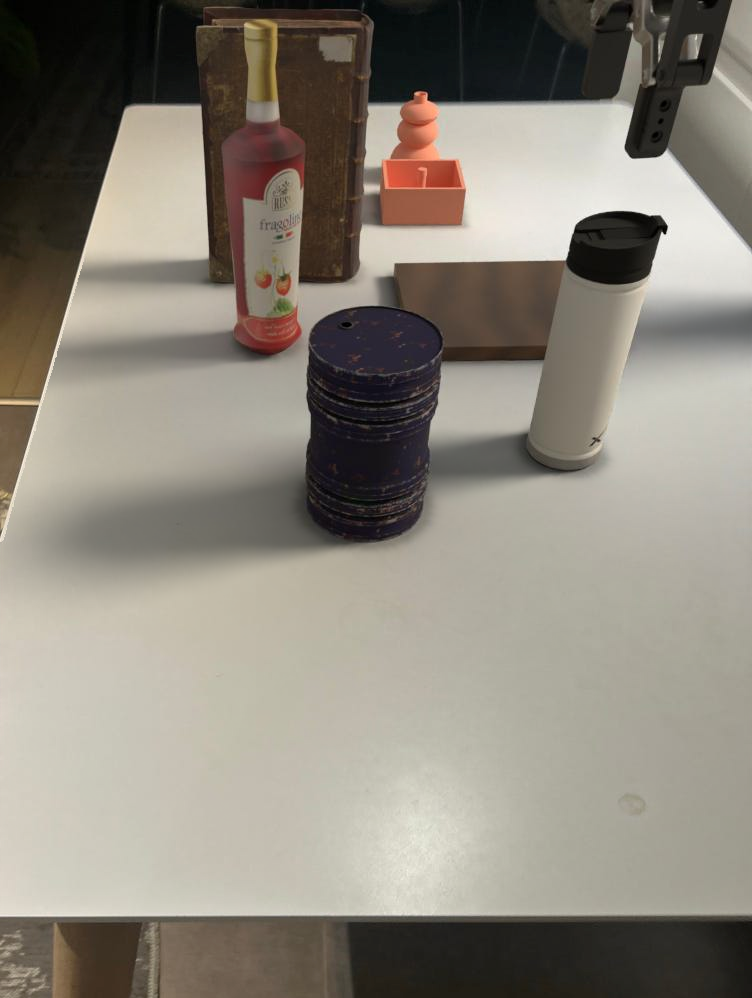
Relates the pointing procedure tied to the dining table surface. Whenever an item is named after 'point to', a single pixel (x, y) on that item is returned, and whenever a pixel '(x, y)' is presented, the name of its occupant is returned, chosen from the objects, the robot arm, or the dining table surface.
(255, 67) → the liquor
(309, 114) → the book
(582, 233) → the travel mug
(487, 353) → the walnut board
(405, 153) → the pottery
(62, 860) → the dining table surface
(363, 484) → the dark blue cylinder
